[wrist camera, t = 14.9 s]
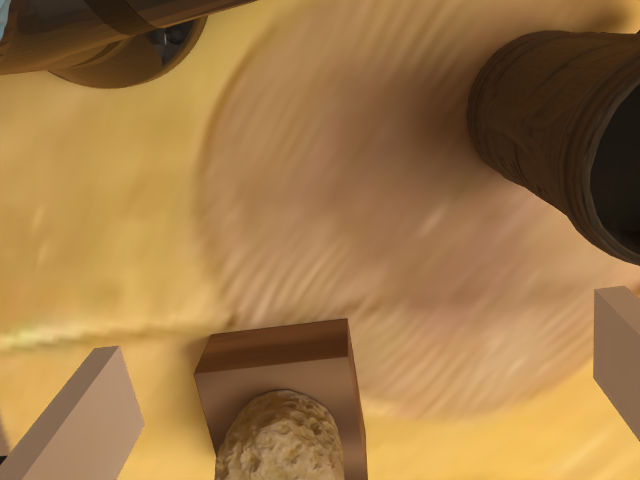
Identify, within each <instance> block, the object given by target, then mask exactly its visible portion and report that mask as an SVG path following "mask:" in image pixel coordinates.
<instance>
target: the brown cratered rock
mask: <svg viewBox="0 0 640 480" xmlns="http://www.w3.org/2000/svg"><path fill="white" fill-rule="evenodd" d="M214 480H345V479H344V463H343V450H342V445H341V441H340V437H339V434H338V429H337V426H336V424H335V422H334V419H333V416H332V415H331V414H330V412H329V411H328V410H327V408H325V407H324V406H323V405H321V404H320V403H319V402H317V401H315V400H313V399H311V398H309V397H308V396H306V395H303V394H300V393H297V392H294V391H290V390H278V391H273V392H268V393H266V394H263V395H260V396H258V397H256V398H254V399H253V400H251V401H250V402H249V404H247V405H246V406H245V407H244V408H243V409H242V410H241V411H240V412H239V413H238V416H237V417H236V419H235V420H234V422H233V424H232V426H231V427H230V429H229V430H228V432H227V434H226V437H225V440H224V443H223V444H222V445H220V448H219V451H218V455H217V459H216V465H215V479H214Z"/></svg>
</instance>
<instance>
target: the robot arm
mask: <svg viewBox="0 0 640 480" xmlns="http://www.w3.org/2000/svg"><path fill="white" fill-rule="evenodd" d="M254 1H258V0H0V75H6V74H15V73H24V72H33V71H43V70H47V71H49V72H51V73H52V74H54V75H56V76H58V77H60V78H63V79H65V80H67V81H70V82H73V83H76V84H79V85H83V86H88V87H94V88H104V89H114V88H124V87H129V86H134V85H139V84H143V83H146V82H149V81H152V80H154V79H156V78H158V77H161V76H162V75H164V74H166V73H167V72H169V71H170V70H172V69H173V68H174V67H176V66H177V65H178V64H179V63H180V62H181V61H182V60H183V59H184V58H185V57H186V56H187V55H188V54H189V52H190V51H191V50H192V48H193V47H194V46H195V44H196V42H197V41H198V39H199V37H200V35H201V33H202V31H203V29H204V26H205V24H206V21H207V18H208V15H210V14H213V13H217V12H220V11H224V10H227V9H230V8H234V7H237V6H241V5H244V4H247V3H251V2H254ZM593 378H594V379H595V381H596V382H597V384H598V385H599V386H600V388H601V389H602V390H603V392H604V393H605V395H606V396H607V397H608V399H609V400H610V401H611V403H612V404H613V406H614V407H615V408H616V410H617V411H618V412H619V414H620V415H621V417H622V418H623V419H624V421H625V422H626V423H627V425H628V426H629V427H630V429H631V430H632V432H633V433H634V434H635V436H636V437H637V438H638V440H639V441H640V299H639V298H638V297H637V296H636V295H635V294H633V293H632V292H631V291H630V290H629V289H628V288H627V287H626V286H618V287H609V288H601V289H594V362H593ZM144 425H145V424H144V420H143V417H142V414H141V411H140V408H139V405H138V402H137V399H136V395H135V392H134V389H133V386H132V383H131V380H130V377H129V373H128V370H127V367H126V364H125V361H124V358H123V355H122V352H121V348H120V346H112V347H103V348H95V349H93V351H92V352H91V353H90V354H89V356H88V357H87V358H86V359H85V361H84V362H83V363H82V364H81V366H80V367H79V368H78V369H77V371H76V372H75V373H74V374H73V376H72V377H71V378H70V379H69V381H68V382H67V383H66V384H65V385H64V387H63V388H62V389H61V390H60V392H59V393H58V394H57V395H56V397H55V398H54V399H53V400H52V402H51V403H50V404H49V405H48V407H47V408H46V409H45V410H44V412H43V413H42V414H41V415H40V417H39V418H38V419H37V420H36V422H35V423H34V424H33V425H32V427H31V428H30V429H29V430H28V432H27V433H26V434H25V435H24V437H23V438H22V439H21V440H20V442H19V443H18V444H17V445H16V446H15V448H14V449H13V450H12V451H11V453H10V454H9V455H8V456H0V480H116V479H117V477H118V475H119V474H120V472H121V470H122V468H123V466H124V464H125V462H126V460H127V458H128V456H129V454H130V452H131V450H132V448H133V446H134V444H135V443H136V441H137V439H138V437H139V435H140V433H141V431H142V429H143V427H144Z"/></svg>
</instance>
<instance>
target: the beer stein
mask: <svg viewBox="0 0 640 480" xmlns="http://www.w3.org/2000/svg"><path fill="white" fill-rule="evenodd" d="M467 120H468V127H469V133H470V137H471V139H472V141H473V144H474V146H475V148H476V150H477V151H478V153H479V154H480V156H481V157H482V158H483V160H484V161H485V162H486V163H487V164H488V165H490V166H491V167H492V168H493V169H495V170H496V171H498V172H499V173H500V174H501V175H502V176H503V177H504V178H506V179H508V180H510V181H512V182H514V183H516V184H518V185H521V186H523V187H525V188H527V189H528V190H529V191H531V192H532V193H534V194H535V195H536V196H538V197H539V198H541V199H543V200H544V201H546V202H547V203H549V204H551V205H552V206H554V207H555V208H557V209H558V210H559V211H561V212H562V213H564V214H565V215H566V216H567V217H568V218H569V220H570V221H571V223H572V224H573V226H574V227H575V228H576V230H577V231H578V232H579V233H580V234H581V235H582V236H583V237H584V238H586V239H587V240H588V241H589V242H590V243H591V244H593V245H594V246H596V247H598V248H599V249H601V250H602V251H604V252H606V253H607V254H609V255H611V256H613V257H615V258H618V259H620V260H622V261H625V262H628V263H632V264H635V265H639V266H640V30H639V31H638V32H637V33H636V34H618V33H606V32H601V33H596V32H582V33H570V32H565V31H541V32H536V33H531V34H527V35H525V36H522V37H520V38H518V39H516V40H514V41H513V42H511V43H509V44H507V45H506V46H504V47H503V48H501V49H500V50H499V51H498V52H497V53H496V54H495V55H494V56H493V57H492V58H491V59H490V60H489V61H488V62H487V63H486V65H485V66H484V67H483V69H482V70H481V71H480V73H479V75H478V77H477V79H476V81H475V83H474V84H473V87H472V90H471V94H470V97H469V101H468V112H467Z"/></svg>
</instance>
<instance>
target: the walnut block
mask: <svg viewBox="0 0 640 480" xmlns="http://www.w3.org/2000/svg"><path fill="white" fill-rule="evenodd" d="M194 377H195V381H196V384H197V388H198V392H199V395H200V399H201V403H202V406H203V410H204V414H205V417H206V421H207V425H208V428H209V432H210V436H211V439H212V443H213V447H214V450H215V454H216V458H217V455H218V451H219V448H220V445H222V444H223V443H224V440H225V437H226V434H227V432H228V430H229V429H230V427H231V426H232V424H233V422H234V420H235V419H236V417H237V416H238V413H239V412H240V411H241V410H242V409H243V408H244V407H245V406H246V405H247V404H249V402H250V401H251V400H253V399H254V398H256V397H258V396H260V395H263V394H266V393H268V392H273V391H278V390H290V391H294V392H297V393H300V394H303V395H306V396H308V397H309V398H311V399H313V400H315V401H317V402H319V403H320V404H321V405H323V406H324V407H325V408H327V410H328V411H329V412H330V414H331V415H332V416H333V419H334V422H335V424H336V426H337V429H338V434H339V437H340V441H341V445H342V450H343V463H344V479H345V480H368V473H367V454H366V435H365V427H364V421H363V414H362V408H361V401H360V395H359V389H358V382H357V376H356V369H355V363H354V357H353V350H352V344H351V337H350V331H349V325H348V319H340V320H331V321H323V322H314V323H306V324H297V325H289V326H281V327H272V328H264V329H255V330H247V331H238V332H230V333H222V334H213V335H211V336H210V339H209V341H208V343H207V345H206V348H205V350H204V352H203V354H202V357H201V359H200V361H199V363H198V366H197V368H196V370H195V372H194Z"/></svg>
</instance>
